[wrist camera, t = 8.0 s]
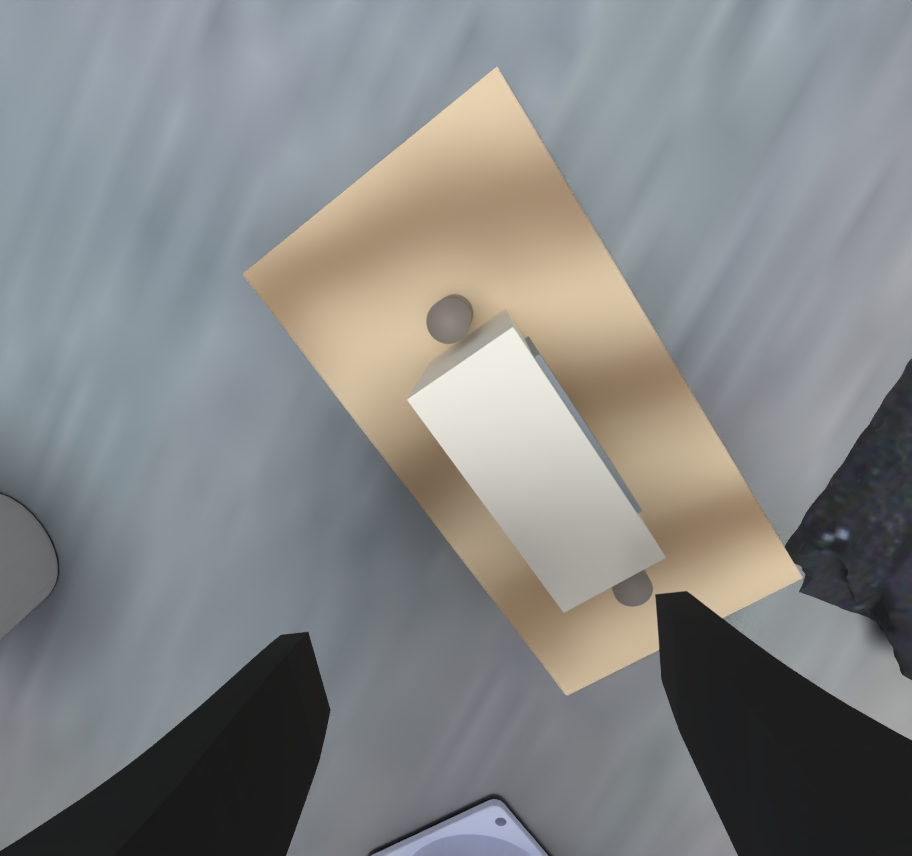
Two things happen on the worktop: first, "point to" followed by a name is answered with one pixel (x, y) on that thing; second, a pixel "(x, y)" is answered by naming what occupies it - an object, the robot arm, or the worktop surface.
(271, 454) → the worktop surface
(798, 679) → the robot arm
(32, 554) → the coffee cup
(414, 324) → the ledge
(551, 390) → the white rectangular block
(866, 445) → the dark slate chunk
